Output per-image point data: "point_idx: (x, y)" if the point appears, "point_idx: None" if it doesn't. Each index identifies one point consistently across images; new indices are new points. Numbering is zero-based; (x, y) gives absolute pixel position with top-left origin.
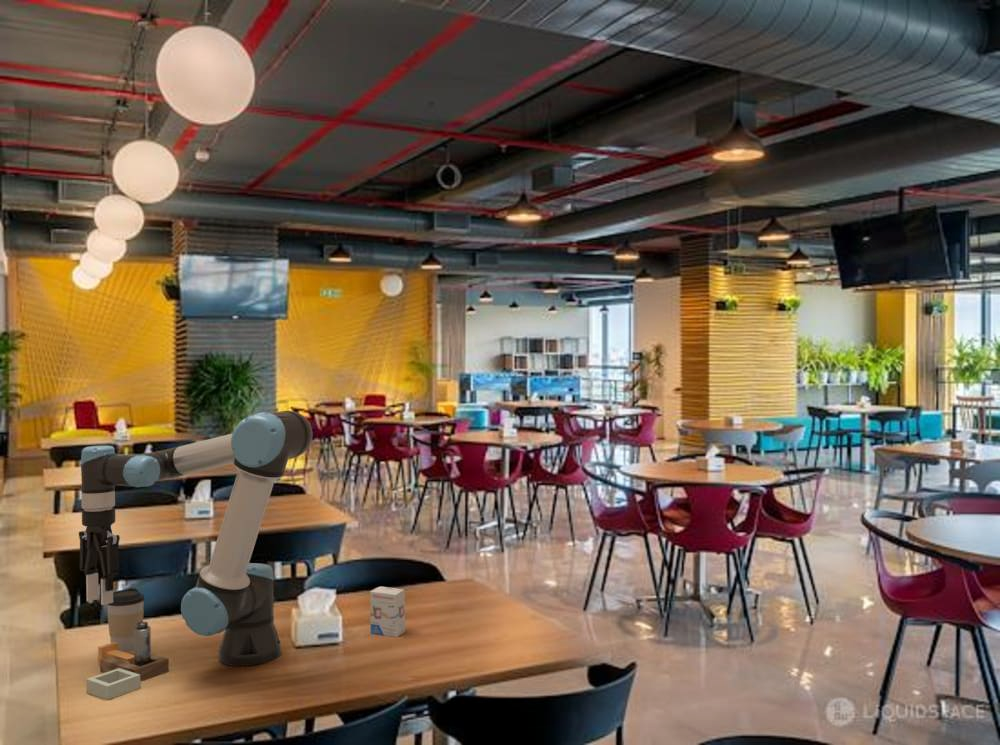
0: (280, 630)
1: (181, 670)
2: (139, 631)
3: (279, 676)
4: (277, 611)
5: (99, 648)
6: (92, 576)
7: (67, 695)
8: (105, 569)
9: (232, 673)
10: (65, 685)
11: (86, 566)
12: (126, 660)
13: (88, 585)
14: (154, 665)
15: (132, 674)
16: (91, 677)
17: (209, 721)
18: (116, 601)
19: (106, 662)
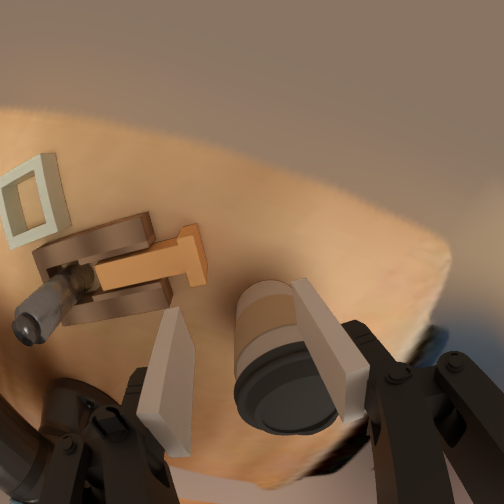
0: (174, 464)
1: (67, 328)
2: (16, 309)
3: (8, 382)
4: (258, 479)
5: (186, 235)
6: (338, 388)
7: (67, 118)
8: (105, 480)
9: (29, 362)
10: (121, 125)
11: (406, 417)
12: (99, 264)
13: (317, 329)
14: None
15: (16, 239)
16: (41, 165)
17: None
18: (268, 370)
19: (115, 223)
